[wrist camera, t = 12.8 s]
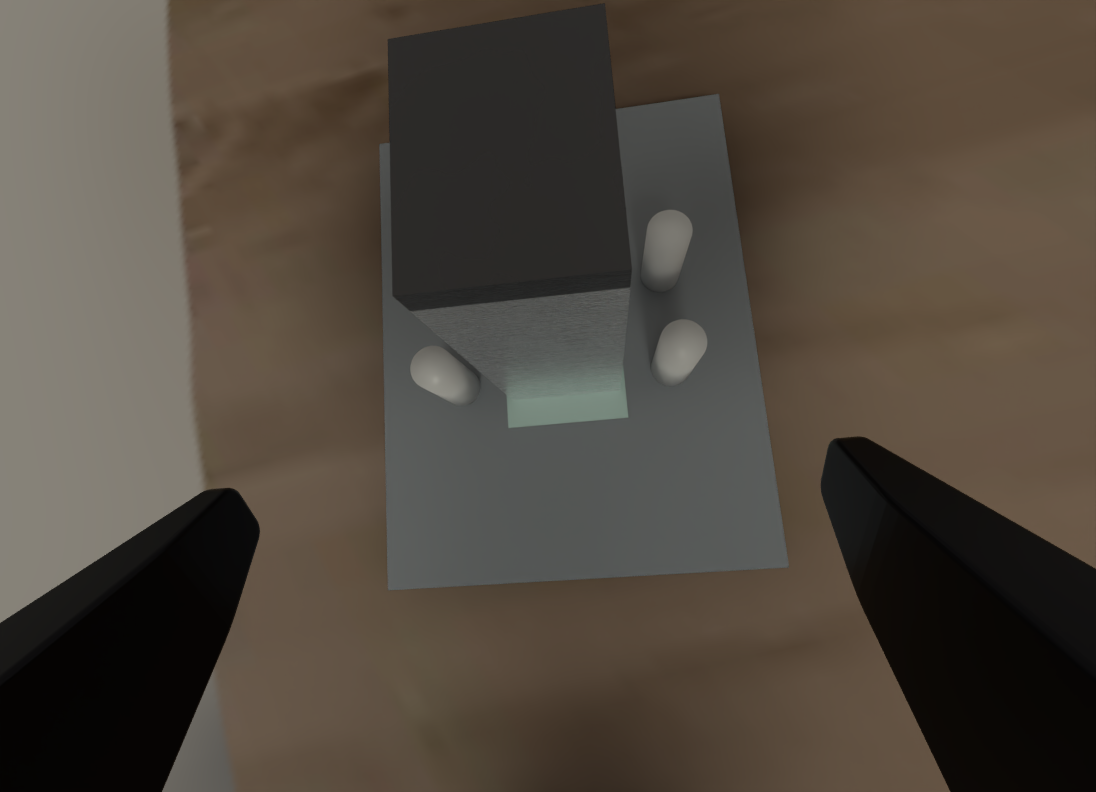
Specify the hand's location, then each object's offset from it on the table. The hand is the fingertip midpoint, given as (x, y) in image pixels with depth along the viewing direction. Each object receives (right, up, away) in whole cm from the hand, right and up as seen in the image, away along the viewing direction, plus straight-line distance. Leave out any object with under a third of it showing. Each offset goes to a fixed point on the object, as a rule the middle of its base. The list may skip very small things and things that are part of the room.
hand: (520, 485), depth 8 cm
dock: (+1, +4, +13) cm, 14 cm away
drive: (+1, +4, +12) cm, 13 cm away
